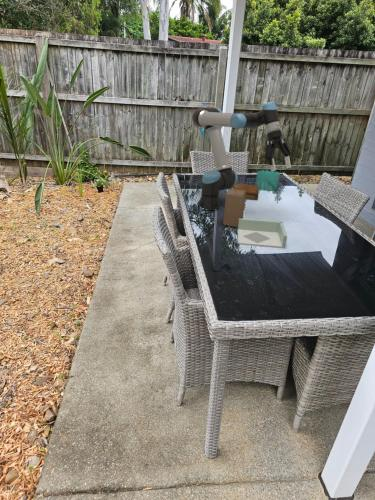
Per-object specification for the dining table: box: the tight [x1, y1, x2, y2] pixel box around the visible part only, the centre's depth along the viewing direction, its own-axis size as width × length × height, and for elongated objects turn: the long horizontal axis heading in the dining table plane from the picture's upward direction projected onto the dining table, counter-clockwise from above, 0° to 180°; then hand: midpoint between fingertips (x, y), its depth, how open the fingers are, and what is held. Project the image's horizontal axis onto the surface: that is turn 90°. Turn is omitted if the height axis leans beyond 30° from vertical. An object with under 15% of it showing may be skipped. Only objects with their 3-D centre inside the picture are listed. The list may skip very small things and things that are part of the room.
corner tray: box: [237, 218, 288, 249], centre depth 175 cm, size 24×20×7 cm
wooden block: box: [222, 188, 246, 228], centre depth 190 cm, size 10×10×20 cm
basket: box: [255, 169, 281, 192], centre depth 265 cm, size 19×18×13 cm
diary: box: [232, 183, 259, 201], centre depth 247 cm, size 23×19×6 cm
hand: (281, 169), depth 184 cm, fingers open, 13 cm apart
